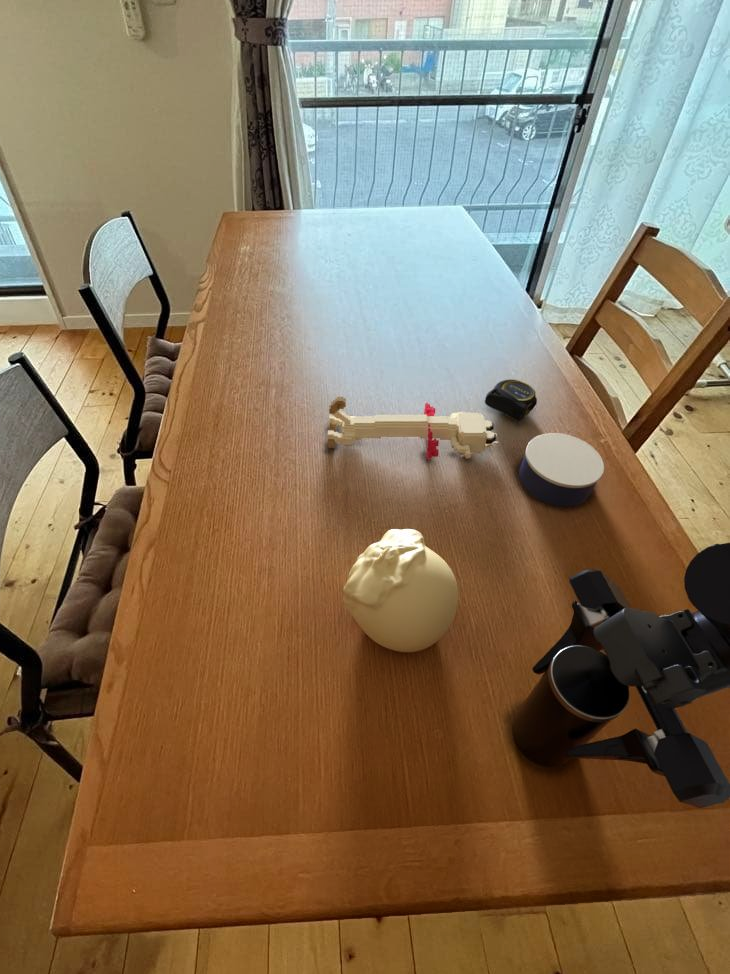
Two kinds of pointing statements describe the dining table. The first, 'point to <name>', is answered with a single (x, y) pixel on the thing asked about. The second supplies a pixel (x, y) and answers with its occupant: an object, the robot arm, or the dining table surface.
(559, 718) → the tube
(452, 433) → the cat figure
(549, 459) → the coffee tin
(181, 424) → the dining table surface
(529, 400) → the tape measure
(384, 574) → the sculpture
